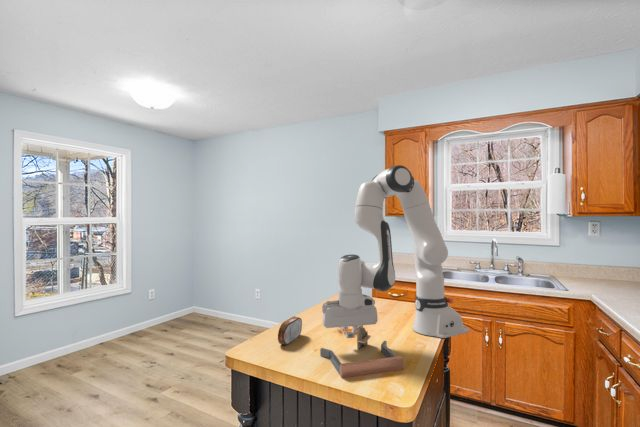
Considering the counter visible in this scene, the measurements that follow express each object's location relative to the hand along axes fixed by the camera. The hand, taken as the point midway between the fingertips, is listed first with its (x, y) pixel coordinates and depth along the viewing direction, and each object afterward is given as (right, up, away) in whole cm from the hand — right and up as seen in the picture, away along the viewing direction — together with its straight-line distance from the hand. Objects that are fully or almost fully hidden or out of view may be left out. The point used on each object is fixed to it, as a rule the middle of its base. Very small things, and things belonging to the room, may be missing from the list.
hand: (350, 337), depth 119 cm
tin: (-22, -4, +7) cm, 24 cm away
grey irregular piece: (+5, -4, +1) cm, 6 cm away
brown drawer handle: (+3, -4, -12) cm, 13 cm away
